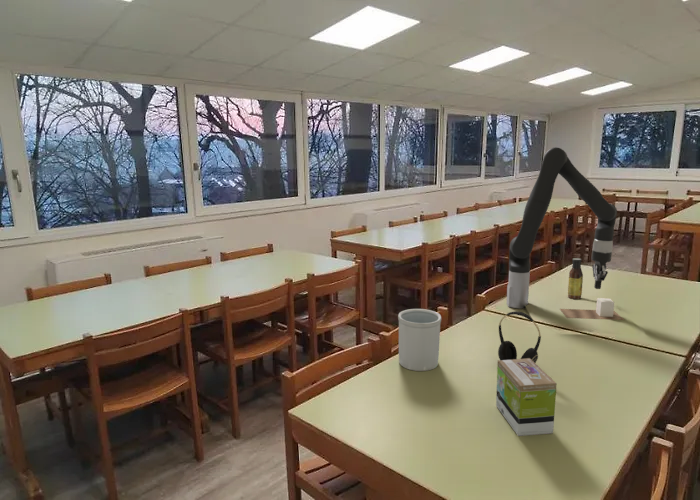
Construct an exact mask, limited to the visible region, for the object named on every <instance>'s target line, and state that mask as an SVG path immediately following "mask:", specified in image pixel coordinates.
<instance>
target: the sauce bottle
mask: <svg viewBox="0 0 700 500" xmlns="http://www.w3.org/2000/svg"><path fill="white" fill-rule="evenodd" d="M581 266H582V258H579V257H577V258H572V264H571V267H572V268H571V269H570V270H569V275H568V285H567V286H568V287H567V296H568V297H567V298H569V299H572V300H579V299H581V298H582V295H583V294H582V293H583V282H584V281H583V280H584V279H583V278H584V274H583V271H582V267H581Z"/></svg>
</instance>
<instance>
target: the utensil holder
mask: <svg viewBox="0 0 700 500" xmlns="http://www.w3.org/2000/svg"><path fill="white" fill-rule="evenodd" d="M397 319H398V362H399V365H400V366H401V367H403V368H405V369H407V370H410V371H416V372H425V371H426V372H427V371H431V370H434V369H435V368H437V366H438V365H439V355H440V353H439V352H440V340H441V339H440V337H441V323H442V315H441V314H440V313H439V312H436V311H435V310H431V309H425V308H410V309H405V310H402V311H400V312H399V313H398V316H397Z"/></svg>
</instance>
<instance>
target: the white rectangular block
mask: <svg viewBox="0 0 700 500" xmlns="http://www.w3.org/2000/svg"><path fill="white" fill-rule="evenodd" d="M595 310H596V313H597V314H598V315H599V316H605V317H613V312H614V311H615V301H613V300H612V299H611V298H610V297H609V298H607V297H606V298H603V297H597V298H596V308H595Z"/></svg>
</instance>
